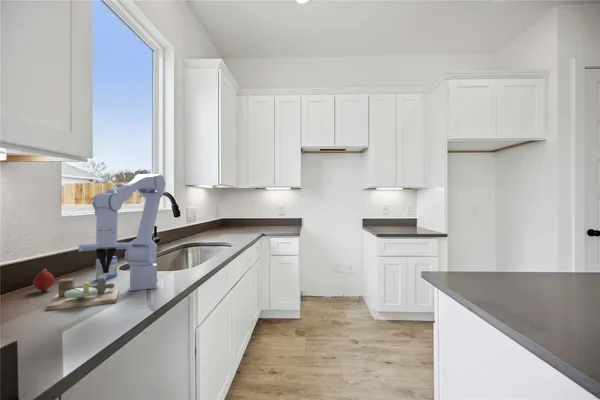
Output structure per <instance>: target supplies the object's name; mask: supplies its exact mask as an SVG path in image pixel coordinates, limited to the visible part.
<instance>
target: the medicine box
mask: <svg viewBox="0 0 600 400" xmlns="http://www.w3.org/2000/svg"><path fill="white" fill-rule="evenodd" d="M99 275H106V281H107V280H109V278H110V279H111V278H114V277H117V275H118V256H116V255H114V256H113V258H112V261H111V263H110V267H109V272H108V273H103V269H102V265H101V262H100V260H99V258H97V259H95V281H98V277H99Z"/></svg>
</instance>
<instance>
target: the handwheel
mask: <svg viewBox="0 0 600 400" xmlns="http://www.w3.org/2000/svg"><path fill="white" fill-rule="evenodd" d="M89 285H90V283H89V282H83V285H82V286H83V288H75V289H72V290H68V291H66V292H65V293H64V297H66V298H77V299H78V300H80V299H84V297H86V296H90V295H93V294H95V293H96V292H97V289H96V288H93V287H89Z"/></svg>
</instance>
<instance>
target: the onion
mask: <svg viewBox="0 0 600 400" xmlns="http://www.w3.org/2000/svg"><path fill="white" fill-rule="evenodd" d="M54 283H55V276H54V275H53V274H52V273H51V272H49V271H48V270H47V268H44V269H42V271H41V272H39V273H38V274H37V275H36V276H35V277H34V278H33V282H32V284H33V286H34V288H35V289H37V290H39V291H40V292H46V291H47V290H49V289H50V288H51V287H52V286H53V285H54Z"/></svg>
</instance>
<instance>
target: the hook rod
mask: <svg viewBox="0 0 600 400" xmlns="http://www.w3.org/2000/svg"><path fill="white" fill-rule="evenodd" d="M89 287H93V288H96V289H97V284H91V285H90V284H89ZM75 288H83V285H80V286H79V285H78V286H75V278H74V277H71V278H69V277H68V278H60V280H59V281H58V291H57V292H58V293H57V294H58V297H61V296H64V293H65V292H66V291H68V290H72V289H75ZM114 288H115V283H114V282H110V283H106V284H105V289H114Z"/></svg>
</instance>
